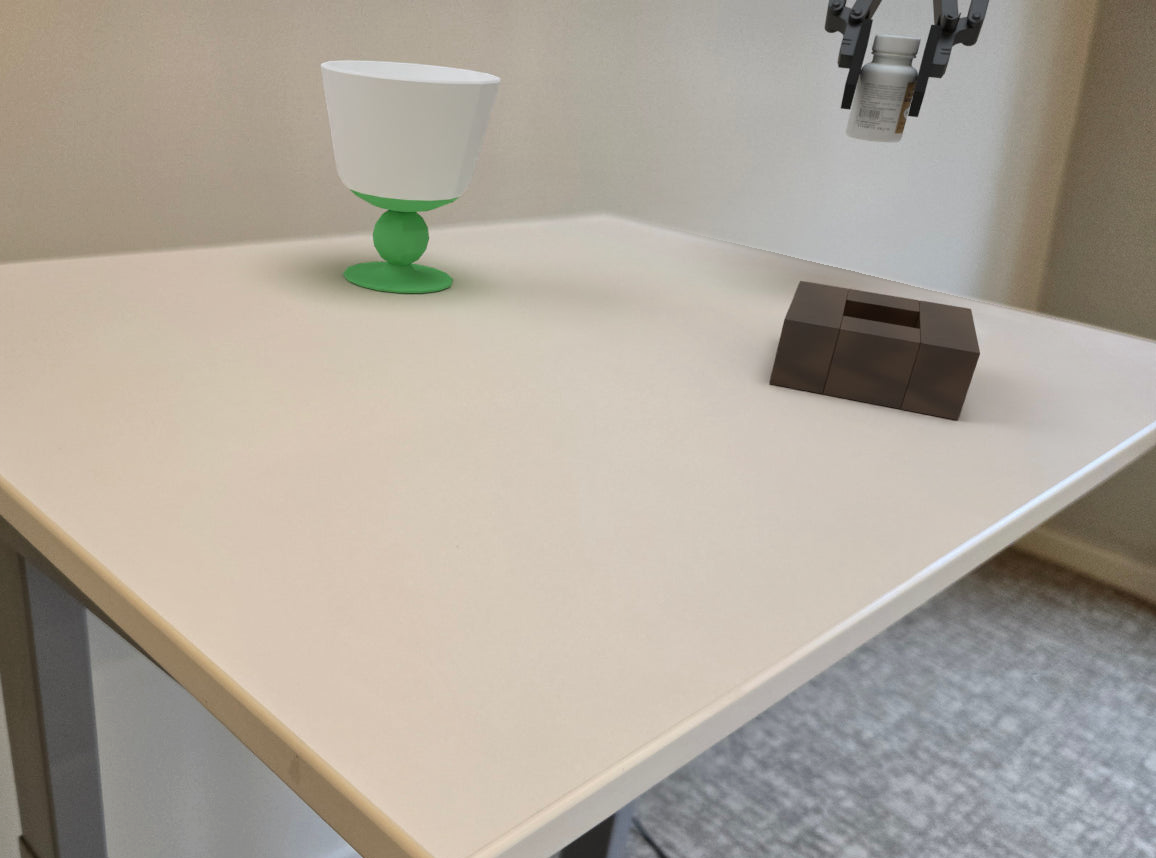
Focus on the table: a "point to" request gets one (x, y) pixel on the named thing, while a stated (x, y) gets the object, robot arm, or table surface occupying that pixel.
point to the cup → (405, 154)
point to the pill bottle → (884, 90)
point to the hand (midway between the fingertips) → (881, 100)
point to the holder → (877, 349)
